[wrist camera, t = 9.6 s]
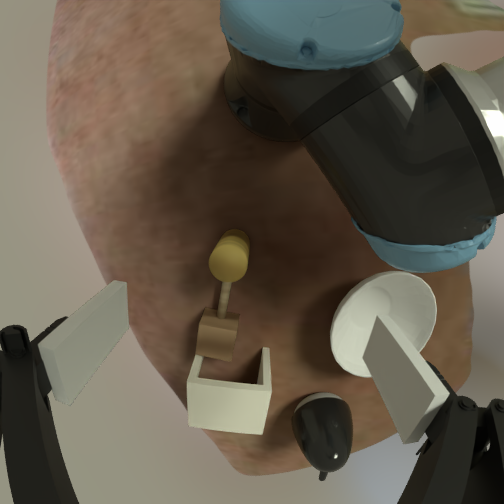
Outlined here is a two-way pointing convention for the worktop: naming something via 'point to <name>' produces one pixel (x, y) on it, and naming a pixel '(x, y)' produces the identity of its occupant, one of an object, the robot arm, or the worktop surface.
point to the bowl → (381, 303)
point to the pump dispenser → (324, 431)
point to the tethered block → (223, 297)
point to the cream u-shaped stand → (229, 400)
